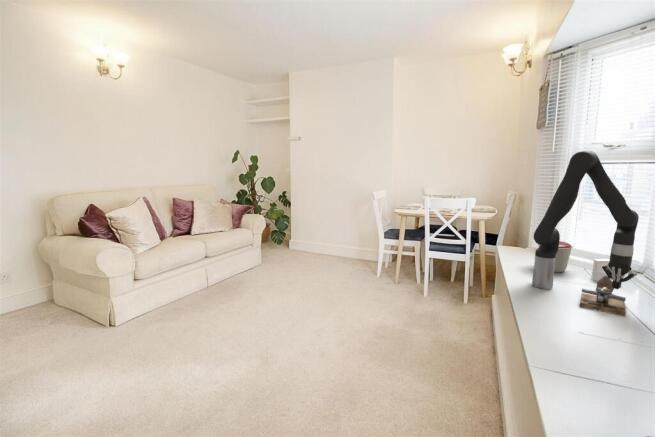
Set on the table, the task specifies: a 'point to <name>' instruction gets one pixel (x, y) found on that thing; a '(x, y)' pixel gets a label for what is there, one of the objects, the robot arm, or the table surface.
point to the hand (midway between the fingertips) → (616, 288)
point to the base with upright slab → (599, 269)
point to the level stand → (603, 304)
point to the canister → (562, 256)
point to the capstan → (603, 295)
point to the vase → (605, 283)
